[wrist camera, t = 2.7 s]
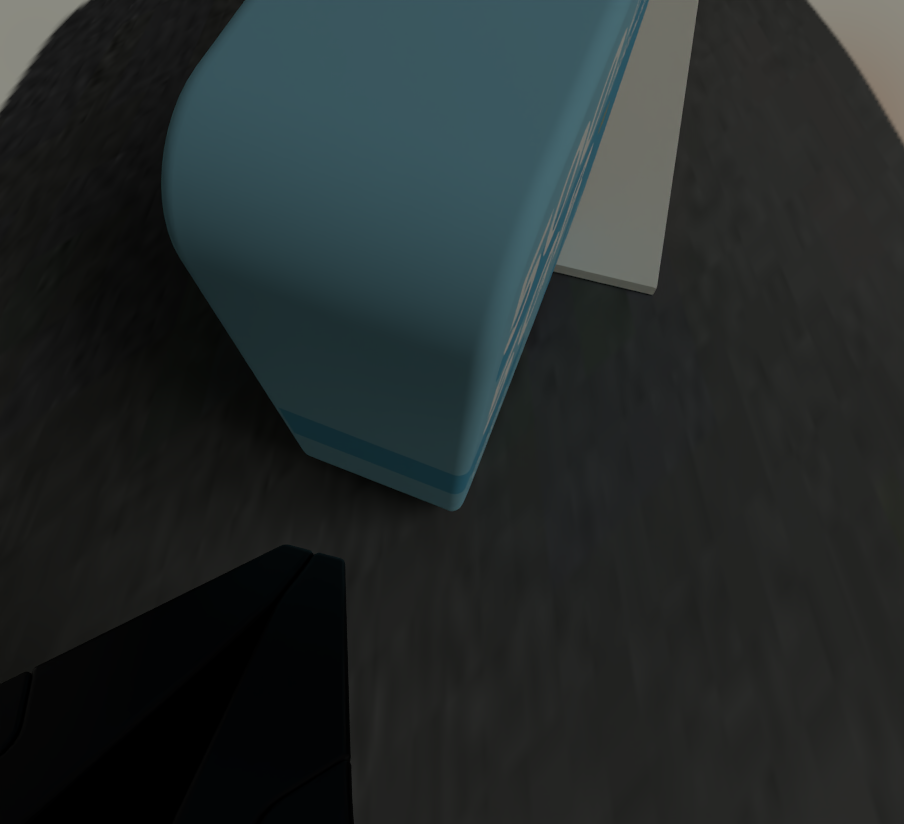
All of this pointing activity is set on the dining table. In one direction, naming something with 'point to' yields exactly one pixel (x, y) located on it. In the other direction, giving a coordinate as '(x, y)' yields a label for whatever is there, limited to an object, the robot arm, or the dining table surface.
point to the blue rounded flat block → (390, 208)
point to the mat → (635, 159)
